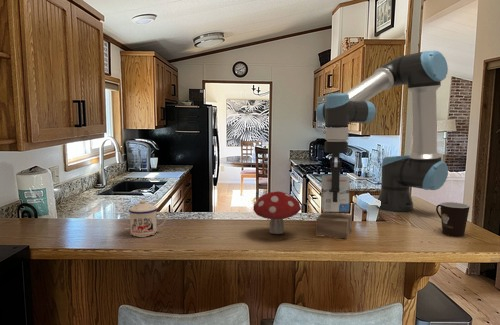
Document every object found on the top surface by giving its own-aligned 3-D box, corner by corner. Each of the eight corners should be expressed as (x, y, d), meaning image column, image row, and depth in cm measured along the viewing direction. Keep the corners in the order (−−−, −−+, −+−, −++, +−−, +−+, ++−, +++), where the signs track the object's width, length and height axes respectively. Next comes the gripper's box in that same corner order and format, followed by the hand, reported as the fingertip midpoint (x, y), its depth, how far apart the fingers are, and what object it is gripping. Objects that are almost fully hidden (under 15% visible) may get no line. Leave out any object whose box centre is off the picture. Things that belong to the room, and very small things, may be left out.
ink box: (345, 208, 125) (346, 174, 124) (349, 211, 120) (350, 176, 119) (320, 208, 125) (321, 174, 124) (323, 211, 120) (324, 176, 119)
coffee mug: (472, 238, 117) (474, 208, 116) (443, 237, 119) (444, 207, 118) (459, 228, 129) (460, 200, 128) (432, 227, 130) (434, 199, 129)
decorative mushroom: (310, 237, 120) (310, 192, 118) (270, 245, 111) (270, 197, 110) (281, 225, 133) (281, 185, 132) (244, 232, 125) (243, 189, 123)
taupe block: (323, 228, 130) (323, 212, 130) (351, 231, 126) (352, 214, 126) (316, 236, 121) (316, 218, 121) (346, 240, 117) (347, 221, 117)
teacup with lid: (128, 239, 118) (126, 203, 117) (131, 231, 127) (130, 198, 126) (166, 236, 121) (165, 202, 120) (166, 228, 130) (165, 196, 128)
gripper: (325, 139, 130) (324, 202, 133) (323, 141, 112) (322, 215, 115) (346, 139, 129) (345, 203, 131) (349, 142, 111) (347, 216, 113)
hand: (334, 209), depth 123 cm, fingers closed on ink box, 6 cm apart
